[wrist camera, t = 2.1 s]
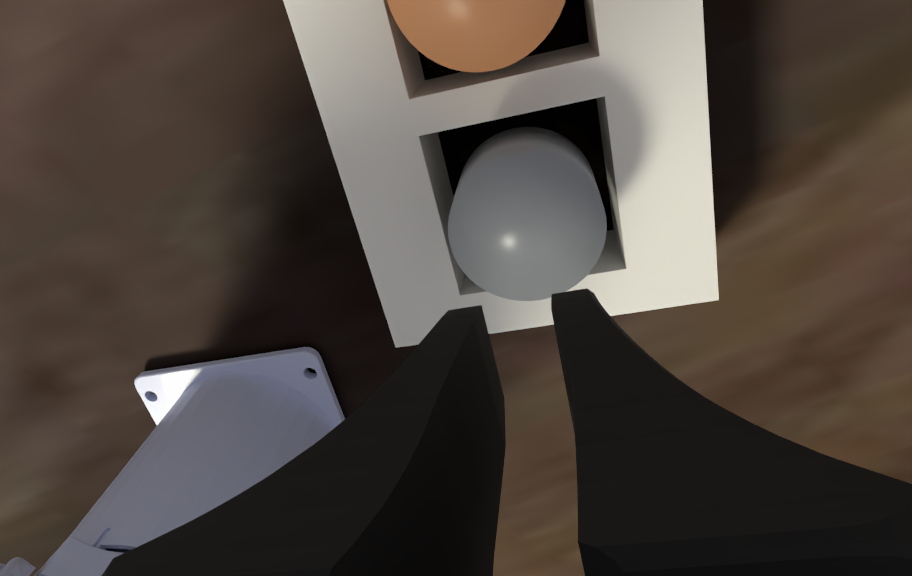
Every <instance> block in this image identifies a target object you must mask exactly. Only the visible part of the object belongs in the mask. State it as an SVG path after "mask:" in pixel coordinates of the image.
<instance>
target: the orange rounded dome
mask: <svg viewBox="0 0 912 576" xmlns="http://www.w3.org/2000/svg"><path fill="white" fill-rule="evenodd" d="M387 1H388V5H389V8H390V11H391V13H392V15H393V17H394V19H395V22H396V23H397V25H398V27H399V28H400V30H401V31H402V33H403V34H404V36H405V37H406V38H407V39H408V41H409V42H410V43H411V44H412V45H413V46H414V47H415V48H416V49H417V50H418V51H419V52H421V53H422V54H423V55H425V56H426V57H427V58H429V59H431V60H432V61H434V62H436V63H437V64H440V65H442V66H445V67H447V68H450V69H454V70H457V71H463V72H471V73H472V72H488V71H494V70H498V69H501V68H504V67H507V66H509V65H511V64H513V63H516V62H517V61H519V60H521V59H522V58H524V57H526V56H527V55H528V54H529V53H531V52H532V51H533V50H534V49H536V48H537V47H538V46H539V45H540V43H541V42H542V41H543V40H544V39H545V38H546V37H547V35H548V34H549V33H550V31H551V30H552V29H553V27H554V25H555V23H556V22H557V20H558V18H559V16H560V14H561V11H562V9H563V7H564V4H565V1H566V0H387Z"/></svg>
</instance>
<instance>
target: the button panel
mask: <svg viewBox="0 0 912 576" xmlns="http://www.w3.org/2000/svg"><path fill="white" fill-rule="evenodd" d="M283 1H284V5H285V8H286V11H287V14H288V17H289V20H290V23H291V26H292V29H293V32H294V35H295V39H296V42H297V45H298V48H299V51H300V54H301V57H302V60H303V63H304V66H305V69H306V72H307V76H308V79H309V82H310V85H311V88H312V91H313V94H314V97H315V100H316V103H317V106H318V110H319V113H320V116H321V119H322V122H323V125H324V128H325V131H326V134H327V137H328V140H329V144H330V147H331V150H332V153H333V156H334V159H335V162H336V165H337V168H338V171H339V174H340V177H341V181H342V184H343V187H344V190H345V193H346V196H347V199H348V202H349V205H350V208H351V211H352V215H353V218H354V221H355V224H356V227H357V230H358V233H359V236H360V239H361V242H362V245H363V249H364V252H365V255H366V258H367V261H368V264H369V267H370V270H371V273H372V276H373V279H374V283H375V286H376V289H377V292H378V295H379V298H380V301H381V304H382V307H383V310H384V313H385V316H386V320H387V323H388V326H389V329H390V332H391V335H392V338H393V341H394V344H395V347H396V348H398V347H405V346H412V345H418V344H419V343H420V342H421V341H422V340H423V339H424V337H425V336H426V335H427V334H428V333H429V332H430V330H431V329H432V328H433V327H434V326H435V324H436V323H437V322H438V321H439V320H440V319H441V318H442V316H443V315H444V314H445V313H446V312H447V311H448V310H453V309H460V308H466V307H472V306H479V305H482V309H483V313H484V317H485V321H486V326H487V330H488V334H493V333H499V332H506V331H513V330H520V329H526V328H533V327H540V326H547V325H553V324H554V321H553V316H552V311H551V298H547V299H542V300H535V301H517V300H510V299H506V298H502V297H499V296H496V295H494V294H491V293H489V292H488V291H486V290H484V289H482V288H481V287H479V286H478V285H476V284H475V283H474V282H473V281H472V280H471V279H469V278H468V277H467V275H466V274H465V273H464V272H463V271H462V269H461V268H460V266H459V265H458V263H457V262H456V260H455V258H454V256H453V253H452V250H451V247H450V243H449V238H448V220H449V214H450V210H451V206H452V203H453V199H454V197H453V192H452V188H451V184H450V180H449V176H448V172H447V168H446V164H445V160H444V156H443V152H442V148H441V144H440V139H439V135H438V132H441V131H445V130H450V129H455V128H459V127H464V126H469V125H473V124H478V123H483V122H487V121H492V120H497V119H501V118H506V117H511V116H515V115H520V114H525V113H529V112H534V111H539V110H543V109H548V108H553V107H557V106H562V105H567V104H571V103H576V102H581V101H585V100H590V99H595V98H596V99H597V107H598V115H599V122H600V130H601V138H602V145H603V153H604V161H605V168H606V176H607V184H608V191H609V199H610V207H611V214H612V222H613V230H610V231H606V239H605V244H604V248H603V250H602V253H601V255H600V257H599V259H598V261H597V263H596V265H595V266H594V267H593V269H592V270H591V271H590V273H589V274H588V275H587V276H586V277H585V278H584V279H583V280H582V281H580V282H579V283H578V284H577V285H575V286H574V287H572V288H571V289H569V290H568V291H574V290H580V289H586V288H587V289H589V290H590V291H592V292H593V293H594V294H595V296H596V297H597V299H598V301H599V302H600V304H601V305H602V306H603V308H604V309H605V310H606V312H607V313H608V314H609V315H610V316H614V315H621V314H627V313H634V312H641V311H648V310H654V309H661V308H668V307H675V306H681V305H688V304H695V303H702V302H708V301H715V300H719V295H718V276H717V258H716V239H715V221H714V202H713V184H712V166H711V147H710V129H709V110H708V92H707V73H706V55H705V36H704V18H703V0H584V7H585V15H586V23H587V30H588V38H589V43H584V44H580V45H576V46H571V47H567V48H563V49H559V50H554V51H550V52H546V53H541V54H537V55H533V56H528V57H524V58H522V59H521V60H519V61H517V62H516V63H513V64H511V65H509V66H507V67H504V68H501V69H498V70H494V71H488V72H472V73H471V72H459V73H455V74H451V75H446V76H442V77H438V78H433V79H429V80H425V78H424V74H423V70H422V66H421V62H420V58H419V54H418V50H417V49H416V48H415V47H414V46H413V45H412V44H411V43H410V42H409V41H408V39H407V38H406V37H405V36H404V34H403V33H402V31H401V30H400V28H399V27H398V25H397V23H396V22H395V19H394V17H393V15H392V13H391V11H390V8H389V5H388V1H387V0H283ZM565 292H567V291H565Z"/></svg>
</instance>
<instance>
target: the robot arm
mask: <svg viewBox="0 0 912 576" xmlns="http://www.w3.org/2000/svg"><path fill="white" fill-rule="evenodd" d="M551 311H552V316H553V321H554V327H555V332H556V337H557V343H558V348H559V353H560V358H561V364H562V369H563V374H564V380H565V385H566V390H567V396H568V401H569V406H570V411H571V417H572V422H573V427H574V433H575V442H576V463H577V485H578V543H579V548H580V553H581V558H582V563H583V567H584V572H585V576H912V484H910V483H907V482H904V481H901V480H898V479H895V478H892V477H889V476H886V475H883V474H880V473H877V472H874V471H871V470H868V469H865V468H862V467H859V466H856V465H853V464H850V463H847V462H844V461H841V460H838V459H835V458H832V457H829V456H826V455H824V454H821V453H819V452H816V451H814V450H811V449H809V448H807V447H804V446H802V445H799V444H797V443H794V442H792V441H790V440H787V439H785V438H782V437H780V436H778V435H776V434H774V433H771V432H769V431H767V430H765V429H763V428H761V427H759V426H756V425H754V424H752V423H750V422H749V421H747V420H745V419H743V418H741V417H739V416H737V415H735V414H734V413H732V412H730V411H728V410H726V409H724V408H722V407H720V406H719V405H717V404H715V403H713V402H712V401H710V400H708V399H707V398H705V397H703V396H702V395H701V394H699V393H698V392H696V391H695V390H693V389H692V388H690V387H689V386H687V385H686V384H684V383H683V382H682V381H680V380H679V379H678V378H676V377H675V376H674V375H672V374H671V373H670V372H668V371H667V370H666V369H665V368H664V367H662V366H661V365H660V364H659V363H658V362H656V361H655V360H654V359H653V358H652V357H650V356H649V355H648V354H647V353H646V352H645V351H644V350H643V349H642V348H640V347H639V346H638V345H637V344H636V343H635V342H634V341H633V340H632V339H631V338H630V337H629V336H628V335H627V334H626V333H625V332H624V331H623V330H622V329H621V328H620V327H619V325H618V324H617V323H616V322H615V321H614V320H613V319H612V317H611V316H610V315H609V314H608V313H607V312H606V310H605V309H604V308H603V306H602V305H601V304H600V302H599V301H598V299H597V297H596V296H595V294H594V293H593V292H592V291H590V290H589V289H587V288H586V289H580V290H574V291H567V292H561V293H555V294H552V296H551ZM307 368H312V369H314V370H315V371H316V372H317V373H311V372H309V371H308V369H307ZM134 384H135V387H136V389H137V391H138V393H139V394H140V396H141V398H142V400H143V402H144V403H145V405H146V407H147V409H148V411H149V412H150V414H151V416H152V418H153V420H154V421H155V423H156V425H157V426H156V428H155V429H154V430H153V431H152V433H151V434H150V435H149V437H148V438H147V439H146V440H145V442H144V443H143V444H142V445H141V447H140V448H139V449H138V450H137V452H136V453H135V454H134V455H133V457H132V458H131V459H130V461H129V462H128V463H127V464H126V466H125V467H124V468H123V469H122V471H121V472H120V473H119V474H118V476H117V477H116V478H115V479H114V481H113V482H112V483H111V484H110V486H109V487H108V488H107V490H106V491H105V492H104V493H103V495H102V496H101V497H100V498H99V500H98V501H97V502H96V503H95V505H94V506H93V507H92V508H91V510H90V511H89V512H88V513H87V515H86V516H85V517H84V519H83V520H82V521H81V522H80V524H79V525H78V526H77V527H76V529H75V530H74V531H73V532H72V534H71V535H70V536H69V537H68V538H67V539H66V540H65V542H64V543H63V544H62V545H61V546H60V547H59V548H58V549H57V551H56V552H55V553H54V554H53V555H52V556H51V557H50V558H49V560H48V561H47V562H46V563H45V564H44V565H43V566H42V567H41V568H40V570H39V571H38V572H37V573H36V574H35V575H34V576H493V561H494V550H495V541H496V532H497V523H498V513H499V504H500V495H501V486H502V476H503V466H504V456H505V408H504V395H503V391H502V387H501V383H500V379H499V375H498V371H497V367H496V362H495V358H494V354H493V350H492V346H491V342H490V338H489V334H488V330H487V326H486V321H485V317H484V313H483V309H482V305H479V306H472V307H466V308H460V309H453V310H448V311H447V312H446V313H445V314H444V315H443V316H442V318H441V319H440V320H439V321H438V322H437V323H436V324H435V326H434V327H433V328H432V329H431V330H430V332H429V333H428V334H427V335H426V336H425V337H424V339H423V340H422V341H421V342H420V343H419V344H418V346H417V347H416V348H415V349H414V350H413V351H412V352H411V354H410V355H409V356H408V357H407V358H406V359H405V360H404V362H403V363H402V364H401V365H400V366H399V367H398V368H397V369H396V370H395V371H394V372H393V373H392V374H391V375H390V376H389V377H388V378H387V379H386V380H385V382H384V383H383V384H382V385H381V386H380V387H379V388H378V389H377V390H376V391H375V392H374V393H373V394H372V395H371V396H370V397H369V398H368V399H367V400H366V401H365V402H364V403H363V404H361V405H360V406H359V407H358V408H357V409H356V410H355V411H354V412H353V413H352V414H350V415H349V416H348V417H347V418H346V419H345V418H344V415H343V412H342V410H341V407H340V405H339V402H338V400H337V397H336V394H335V392H334V389H333V387H332V384H331V382H330V379H329V376H328V374H327V371H326V369H325V366H324V363H323V361H322V358H321V356H320V354H319V353H318V352H317V351H316V350H315V349H313V348H310V347H301V348H295V349H288V350H282V351H275V352H269V353H262V354H255V355H249V356H242V357H236V358H229V359H223V360H216V361H210V362H203V363H197V364H190V365H184V366H177V367H170V368H164V369H157V370H151V371H145V372H142V373H141V374H140V375H139V376H138V377H137V378H136V379H135V382H134ZM151 391H152V392H154V393H155V394H156V395H154V394H152V392H151ZM34 569H35V567H34V566H32V565H31V564H30V563H28V562H27V561H26V560H24V559H23V558H20V557H16V558H13V559H11V560H10V561H9V562H8V563H7V564H6V565H5V564H2V563H1V564H0V576H29V575H30V574H31V573H32V571H33V570H34Z"/></svg>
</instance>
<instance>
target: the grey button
mask: <svg viewBox="0 0 912 576" xmlns="http://www.w3.org/2000/svg"><path fill="white" fill-rule="evenodd" d="M606 231H607V222H606V214H605V209H604V206H603V203H602V200H601V196H600V193H599V190H598V187H597V184H596V181H595V178H594V175H593V172H592V169H591V166H590V164H589V162H588V161H587V159H586V157H585V156H584V154H583V153H582V152H581V150H580V149H579V148H578V147H577V146H576V145H575V144H574V143H572V142H571V141H570V140H568V139H567V138H565V137H564V136H562V135H560V134H558V133H556V132H553V131H551V130H547V129H543V128H537V127H519V128H512V129H509V130H505V131H503V132H500V133H498V134H495V135H494V136H492V137H490V138H489V139H487V140H486V141H485V142H483V143H482V144H481V145H480V146H479V147H478V148H477V149H476V150H475V151H474V152H473V153H472V155H471V156H470V157H469V159H468V160H467V162H466V164H465V166H464V168H463V171H462V173H461V176H460V179H459V183H458V186H457V189H456V193H455V196H454V199H453V203H452V206H451V210H450V214H449V220H448V238H449V243H450V247H451V250H452V253H453V256H454V258H455V260H456V262H457V263H458V265H459V266H460V268H461V269H462V271H463V272H464V273H465V274H466V275H467V277H468V278H469V279H471V280H472V281H473V282H474V283H475V284H476V285H478V286H479V287H481V288H482V289H484V290H486V291H488V292H489V293H491V294H494V295H496V296H499V297H502V298H506V299H510V300H517V301H535V300H542V299H547V298H551V296H552V294H555V293H561V292H565V291H568V290H569V289H571V288H572V287H574V286H575V285H577V284H578V283H579V282H580V281H582V280H583V279H584V278H585V277H586V276H587V275H588V274H589V273H590V271H591V270H592V269H593V267H594V266H595V265H596V263H597V261H598V259H599V257H600V255H601V253H602V250H603V248H604V244H605V239H606Z"/></svg>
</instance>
